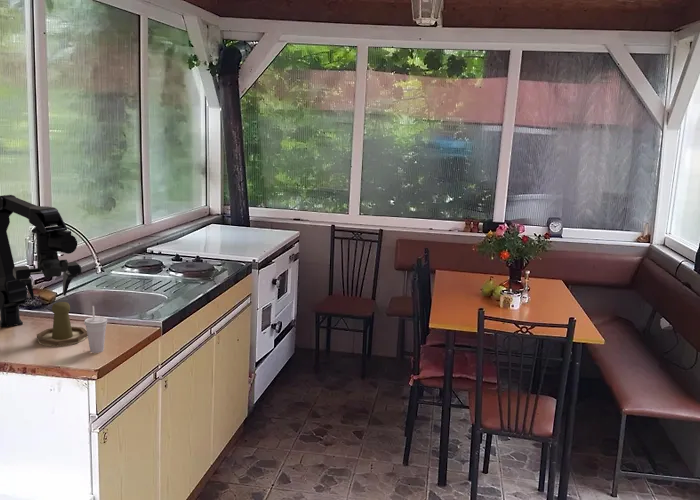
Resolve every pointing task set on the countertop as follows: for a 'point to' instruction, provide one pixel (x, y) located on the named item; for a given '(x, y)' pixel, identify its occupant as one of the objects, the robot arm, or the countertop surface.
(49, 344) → the tray
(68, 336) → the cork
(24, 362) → the countertop surface
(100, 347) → the smoothie
